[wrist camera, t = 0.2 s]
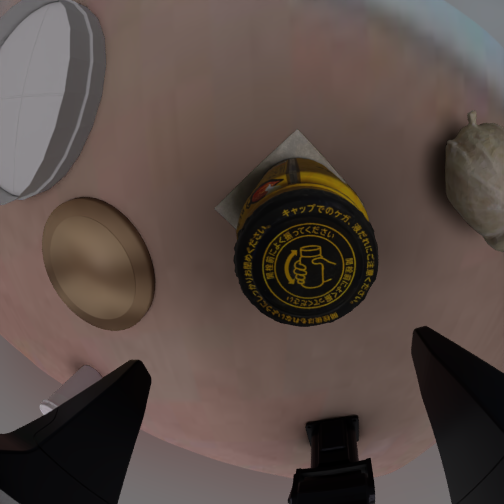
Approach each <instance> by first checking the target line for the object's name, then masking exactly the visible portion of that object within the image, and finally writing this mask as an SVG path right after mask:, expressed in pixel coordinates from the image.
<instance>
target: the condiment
mask: <svg viewBox="0 0 504 504" xmlns="http://www.w3.org/2000/svg"><path fill="white" fill-rule="evenodd" d="M363 205H364V204H363V203H362V202H361V200H360V199H359V198H358V196H357V195H356V193H355V192H354V191H353V190H352V189H351V188H350V186H349V185H348V184H347V183H346V182H345V181H344V180H343V179H342V178H341V176H340V175H339V174H338V173H337V172H336V171H335V169H334V168H333V167H332V166H331V165H330V164H329V163H328V162H327V160H326V159H325V158H324V157H323V156H322V155H321V154H320V153H319V152H318V151H317V149H316V148H315V147H314V146H313V145H312V144H311V143H310V142H309V141H308V140H307V139H306V138H305V137H304V136H303V135H302V134H301V132H300V131H299V130H298V129H297V130H296V131H295V132H294V133H293V134H291V135H290V136H289V137H288V138H287V139H286V140H285V141H284V142H283V143H282V144H281V145H280V146H278V147H277V148H276V149H275V150H274V151H273V152H272V153H271V154H270V155H269V156H268V157H267V158H266V159H265V160H263V161H262V162H261V163H260V164H259V165H258V166H257V167H256V168H255V169H254V170H253V171H252V172H251V173H250V174H249V175H248V176H247V177H246V178H245V179H244V180H243V181H242V182H241V183H240V184H238V185H237V186H236V187H235V188H234V189H233V190H232V191H231V192H230V193H229V194H228V195H227V196H226V197H225V198H224V199H223V200H222V201H221V202H220V203H219V204H218V205H217V206H216V207H215V208H214V209H215V210H216V211H217V212H218V213H219V214H220V215H221V216H223V217H224V218H225V219H226V220H227V221H228V222H229V223H230V224H231V225H232V226H233V227H234V228H235V229H236V234H237V242H236V244H235V247H234V250H235V255H234V263H235V273H236V276H237V277H238V279H239V284H240V286H241V289H242V291H243V293H244V295H245V296H246V297H247V298H248V300H249V301H250V302H251V303H252V304H253V305H254V306H255V307H257V309H258V310H259V311H260V312H261V313H263V314H265V315H266V316H268V317H270V318H272V319H273V320H275V321H277V322H280V323H283V324H289V325H293V326H300V327H308V326H315V325H320V324H324V323H331V322H334V321H335V320H337V319H339V318H341V317H343V316H344V315H346V314H347V313H349V312H351V311H352V310H353V309H354V308H355V307H356V306H358V305H359V304H360V303H361V302H362V301H363V300H364V299H365V297H366V295H367V292H368V291H369V289H370V287H371V285H372V284H373V282H374V281H375V280H376V276H377V271H378V246H377V242H376V240H375V235H374V230H373V228H372V226H371V224H370V222H369V219H368V215H367V212H366V210H365V209H364V206H363Z"/></svg>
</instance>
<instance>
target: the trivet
mask: <svg viewBox="0 0 504 504" xmlns="http://www.w3.org/2000/svg"><path fill="white" fill-rule="evenodd" d="M42 252H43V259H44V264H45V268H46V271H47V274H48V276H49V279H50V281H51V283H52V285H53V287H54V289H55V290H56V292H57V294H58V295H59V296H60V298H61V299H62V301H63V302H64V303H65V304H66V305H67V306H68V307H69V308H70V309H71V310H72V311H73V312H74V313H75V314H76V315H77V316H79V317H80V318H81V319H83V320H84V321H86V322H88V323H89V324H91V325H93V326H96V327H98V328H101V329H105V330H111V331H119V330H125V329H128V328H130V327H132V326H134V325H135V324H136V323H138V322H139V321H140V320H141V318H142V317H143V316H144V315H145V313H146V312H147V311H148V309H149V307H150V305H151V303H152V300H153V297H154V290H155V277H154V269H153V265H152V261H151V258H150V255H149V252H148V250H147V248H146V245H145V243H144V241H143V240H142V238H141V236H140V234H139V233H138V231H137V230H136V229H135V227H134V226H133V225H132V223H131V222H130V221H129V220H128V219H127V218H126V217H125V216H124V215H123V214H122V213H121V212H120V211H118V210H117V209H116V208H114V207H113V206H111V205H110V204H108V203H106V202H104V201H101V200H99V199H95V198H90V197H80V198H75V199H72V200H70V201H67V202H65V203H62V204H61V205H59V206H58V207H57V208H56V209H55V210H54V211H53V212H52V213H51V215H50V216H49V218H48V220H47V222H46V224H45V227H44V232H43V238H42Z"/></svg>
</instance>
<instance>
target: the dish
mask: <svg viewBox="0 0 504 504" xmlns="http://www.w3.org/2000/svg"><path fill="white" fill-rule="evenodd" d="M105 69H106V53H105V38H104V35H103V32H102V29H101V26H100V23H99V20H98V18H97V17H96V16H95V15H94V14H93V13H92V12H91V11H90V10H89V9H88V8H87V7H85V6H83V5H81V4H78V3H76V2H75V1H72V0H22V1H20V2H19V3H17V4H16V5H14V6H13V7H11V8H10V9H9V10H8V11H7V12H6V13H5V14H4V15H3V16H2V17H1V18H0V205H4V204H7V203H9V202H11V201H14V200H16V199H19V200H23V199H26V198H28V197H31V196H33V195H36V194H38V193H41V192H43V191H46V190H48V189H50V188H51V187H53V186H54V185H55V184H56V183H57V182H58V181H59V180H61V179H62V178H63V177H64V176H65V175H66V174H67V172H68V171H69V169H70V168H71V166H72V165H73V163H74V162H75V160H76V159H77V158H78V156H79V155H80V153H81V151H82V148H83V146H84V144H85V142H86V140H87V137H88V135H89V133H90V131H91V129H92V127H93V123H94V120H95V116H96V113H97V110H98V106H99V103H100V100H101V97H102V91H103V83H104V76H105Z"/></svg>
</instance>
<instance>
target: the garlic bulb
mask: <svg viewBox="0 0 504 504" xmlns="http://www.w3.org/2000/svg"><path fill="white" fill-rule="evenodd" d="M467 116H468V122H469V124H468V125H467V126H465V127H463V128H462V129H461V130H460V132H459V133H458V135H457V137H456V138H455V139H453V140H448V141H447V145H446V147H445V151H446V162H445V181H446V195H447V198H448V200H449V201H450V203H451V204H452V206H453V207H454V208H455V210H456V211H457V212H458V213H459V214H460V215H461V216H462V218H463V219H464V220H465V221H466V222H467V223H468V224H469V225H470V226H471V227H472V228H473V229H474V230H475V231H477V232H478V233H479V234H480V235H482V236H483V237H484V239H485V241H486V242H487V244H488V245H490V246H491V247H492V248H493V249H495V250H497V251H501V252H504V128H503V127H502V126H500V125H498V124H495V123H483V124H480V125H477V124H476V111H471V112H469V113H468V115H467Z"/></svg>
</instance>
